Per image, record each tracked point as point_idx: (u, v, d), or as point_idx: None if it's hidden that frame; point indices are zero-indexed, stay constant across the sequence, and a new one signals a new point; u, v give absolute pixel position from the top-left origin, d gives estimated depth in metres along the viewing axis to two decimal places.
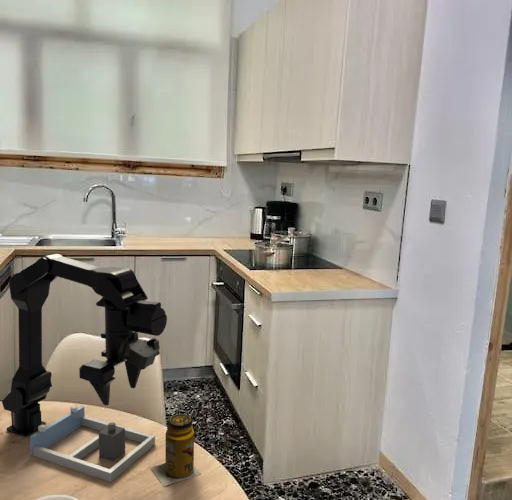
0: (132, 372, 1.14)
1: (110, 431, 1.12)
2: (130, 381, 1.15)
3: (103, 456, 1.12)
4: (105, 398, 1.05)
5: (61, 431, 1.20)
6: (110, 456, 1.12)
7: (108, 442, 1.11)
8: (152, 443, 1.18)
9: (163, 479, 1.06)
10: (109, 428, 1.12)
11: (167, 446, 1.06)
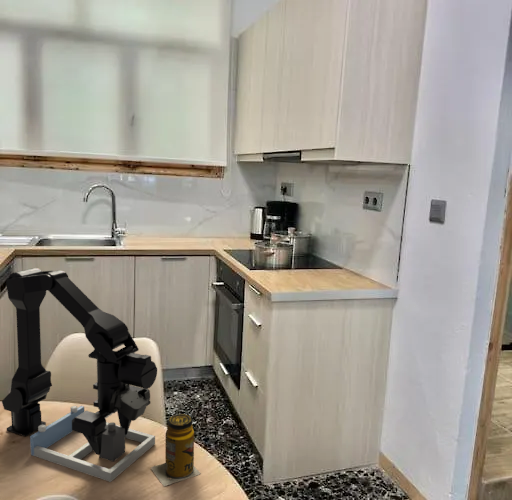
0: (124, 418, 1.17)
1: (110, 431, 1.12)
2: None
3: (103, 456, 1.12)
4: (97, 448, 1.08)
5: (61, 431, 1.20)
6: (110, 456, 1.12)
7: (107, 442, 1.11)
8: (152, 443, 1.18)
9: (163, 479, 1.06)
10: (109, 428, 1.12)
11: (167, 446, 1.06)
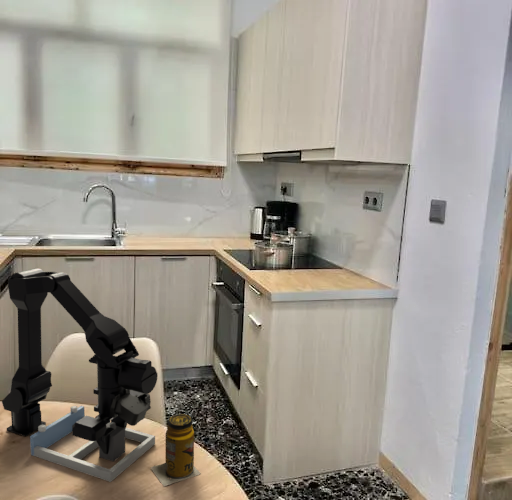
0: None
1: None
2: None
3: (103, 456, 1.12)
4: (105, 447, 1.11)
5: (61, 431, 1.20)
6: (110, 456, 1.12)
7: None
8: (152, 443, 1.18)
9: (163, 479, 1.06)
10: None
11: (167, 446, 1.06)
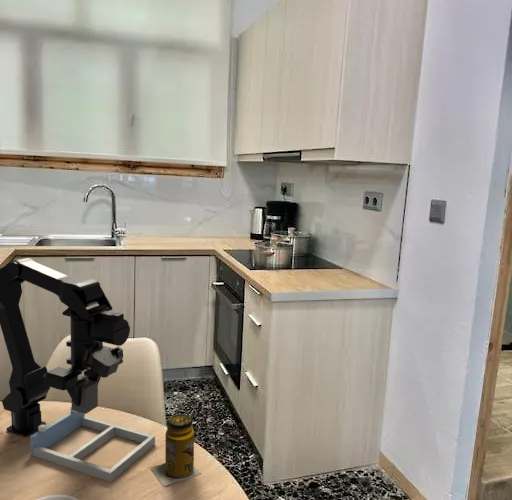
0: None
1: (83, 384, 1.13)
2: None
3: (75, 408, 1.14)
4: (77, 399, 1.12)
5: (61, 431, 1.20)
6: (82, 408, 1.13)
7: None
8: (152, 443, 1.18)
9: (163, 479, 1.06)
10: None
11: (167, 446, 1.06)
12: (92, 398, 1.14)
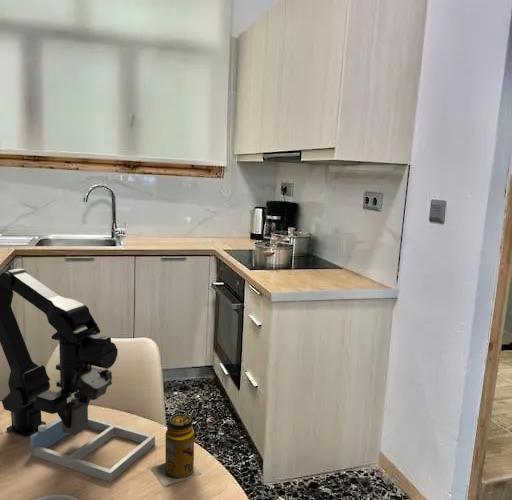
0: None
1: (73, 406, 1.16)
2: None
3: (66, 430, 1.16)
4: (67, 421, 1.14)
5: (61, 431, 1.20)
6: (72, 430, 1.15)
7: None
8: (152, 443, 1.18)
9: (163, 479, 1.06)
10: None
11: (167, 446, 1.06)
12: (82, 419, 1.16)
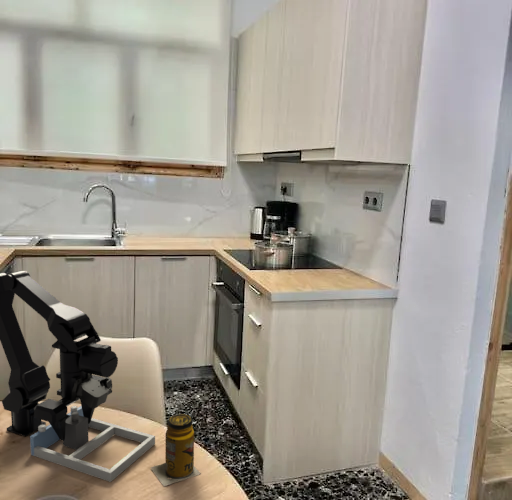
0: (87, 408, 1.21)
1: (73, 420, 1.16)
2: None
3: (66, 444, 1.16)
4: (61, 434, 1.13)
5: None
6: (73, 444, 1.16)
7: (70, 430, 1.15)
8: (152, 443, 1.18)
9: (163, 479, 1.06)
10: (72, 417, 1.16)
11: (167, 446, 1.06)
12: (83, 434, 1.17)
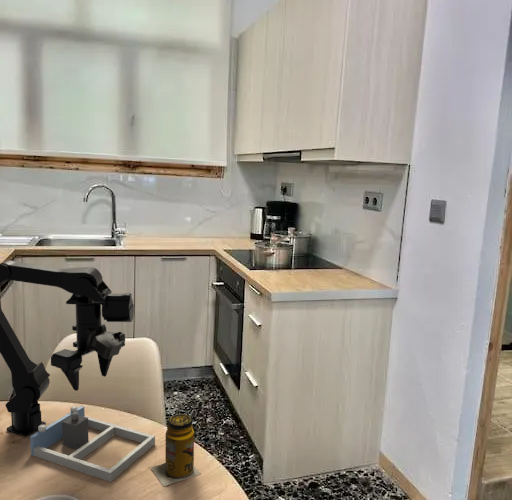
0: (103, 361, 1.27)
1: (73, 420, 1.16)
2: (101, 370, 1.27)
3: (66, 444, 1.16)
4: (75, 384, 1.18)
5: (61, 431, 1.20)
6: (73, 444, 1.16)
7: (70, 430, 1.15)
8: (152, 443, 1.18)
9: (163, 479, 1.06)
10: (72, 417, 1.16)
11: (167, 446, 1.06)
12: (83, 434, 1.17)
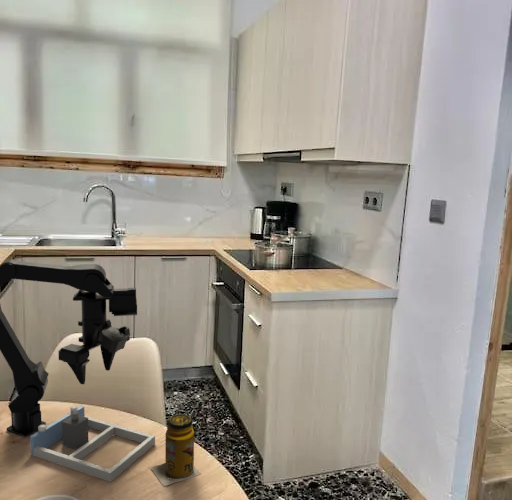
0: (107, 356, 1.30)
1: (73, 420, 1.16)
2: (105, 364, 1.30)
3: (66, 444, 1.16)
4: (81, 378, 1.21)
5: (61, 431, 1.20)
6: (73, 444, 1.16)
7: (70, 430, 1.15)
8: (152, 443, 1.18)
9: (163, 479, 1.06)
10: (72, 417, 1.16)
11: (167, 446, 1.06)
12: (83, 434, 1.17)
